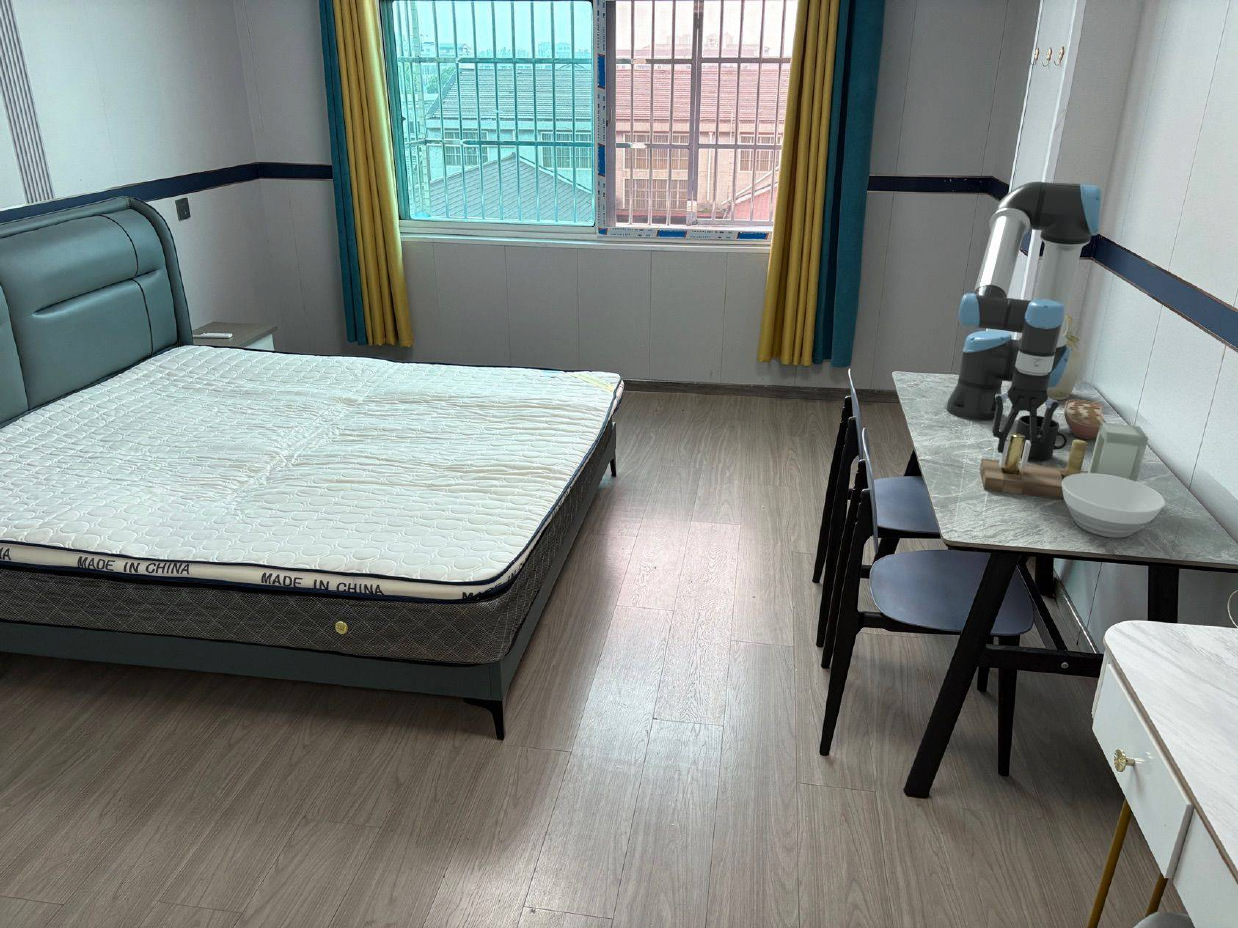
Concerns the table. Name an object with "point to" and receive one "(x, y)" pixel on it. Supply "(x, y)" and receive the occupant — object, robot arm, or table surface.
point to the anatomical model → (1083, 418)
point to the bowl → (1110, 503)
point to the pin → (1014, 454)
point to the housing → (1118, 451)
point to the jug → (1068, 366)
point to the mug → (1041, 449)
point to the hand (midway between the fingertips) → (1012, 466)
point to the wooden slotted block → (1033, 475)
